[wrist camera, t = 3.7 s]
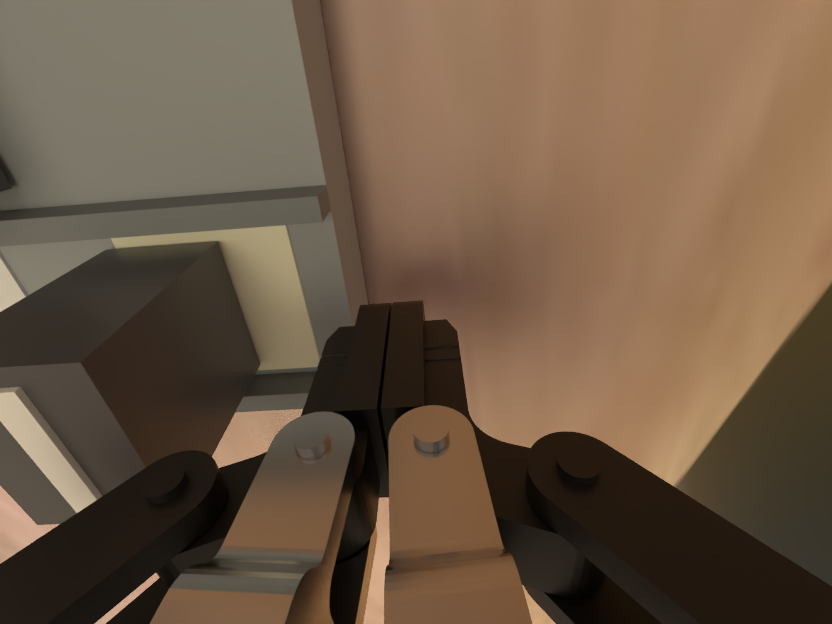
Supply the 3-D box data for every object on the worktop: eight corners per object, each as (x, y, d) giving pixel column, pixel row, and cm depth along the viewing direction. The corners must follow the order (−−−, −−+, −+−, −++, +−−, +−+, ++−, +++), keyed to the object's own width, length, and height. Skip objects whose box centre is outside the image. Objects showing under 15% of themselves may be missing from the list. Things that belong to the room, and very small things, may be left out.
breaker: (217, 241, 11) (74, 367, 6) (260, 364, 13) (175, 524, 8) (105, 249, 11) (-113, 378, 6) (165, 370, 13) (32, 530, 8)
